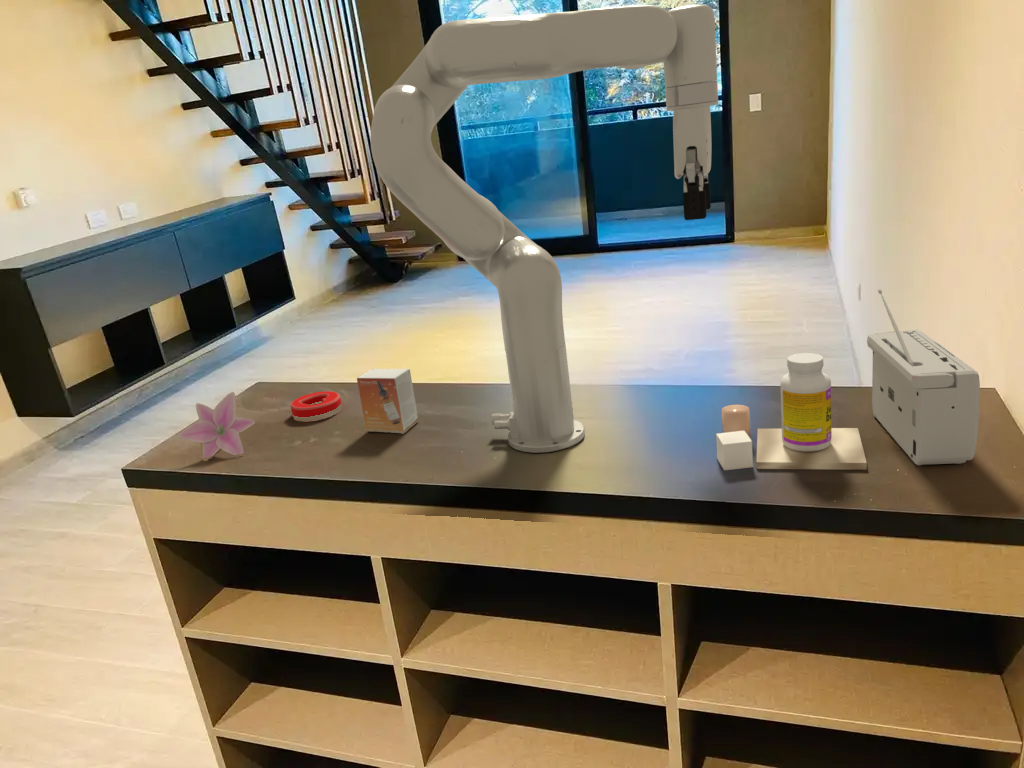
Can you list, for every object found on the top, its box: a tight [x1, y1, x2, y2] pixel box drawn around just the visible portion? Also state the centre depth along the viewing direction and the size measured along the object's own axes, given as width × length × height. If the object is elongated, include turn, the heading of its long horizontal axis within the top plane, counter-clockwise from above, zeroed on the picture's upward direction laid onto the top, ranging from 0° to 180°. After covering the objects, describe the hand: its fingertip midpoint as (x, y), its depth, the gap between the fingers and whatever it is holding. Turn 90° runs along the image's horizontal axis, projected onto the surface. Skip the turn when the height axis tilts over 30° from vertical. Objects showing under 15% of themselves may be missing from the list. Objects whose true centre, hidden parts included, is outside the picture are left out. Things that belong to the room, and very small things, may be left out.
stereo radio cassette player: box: [866, 289, 981, 467], centre depth 112 cm, size 21×8×20 cm, turn 174°
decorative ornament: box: [290, 390, 342, 417], centre depth 159 cm, size 10×10×3 cm
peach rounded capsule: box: [721, 404, 752, 440], centre depth 121 cm, size 4×4×5 cm
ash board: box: [755, 427, 868, 471], centre depth 115 cm, size 14×12×1 cm
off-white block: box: [715, 431, 754, 471], centre depth 114 cm, size 4×4×4 cm
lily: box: [176, 391, 256, 459], centre depth 145 cm, size 12×12×10 cm
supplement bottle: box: [780, 352, 832, 452], centre depth 113 cm, size 7×7×13 cm
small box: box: [356, 368, 419, 431], centre depth 144 cm, size 8×6×10 cm
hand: (698, 214), depth 125 cm, fingers open, 9 cm apart
